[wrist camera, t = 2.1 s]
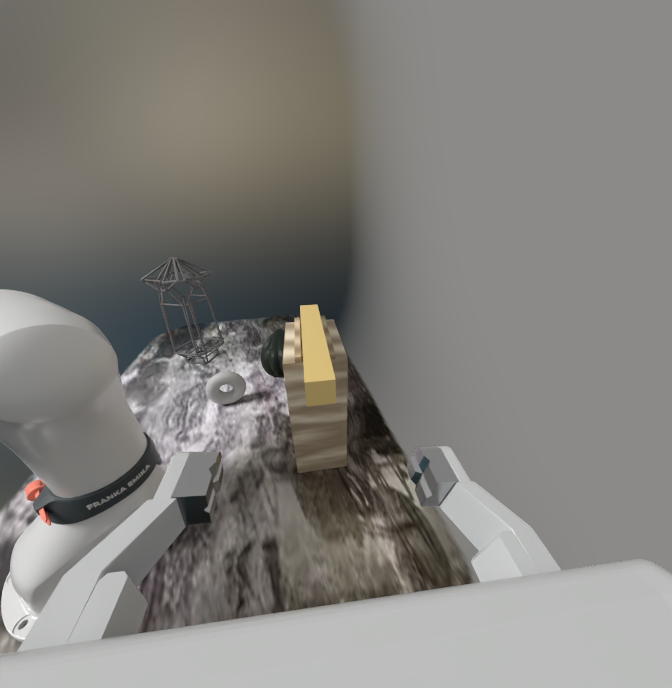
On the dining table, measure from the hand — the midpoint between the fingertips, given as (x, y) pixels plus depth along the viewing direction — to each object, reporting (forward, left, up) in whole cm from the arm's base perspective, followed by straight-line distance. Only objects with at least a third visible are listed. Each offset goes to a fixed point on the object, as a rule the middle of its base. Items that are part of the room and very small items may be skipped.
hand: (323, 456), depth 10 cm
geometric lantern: (+28, +82, -37) cm, 94 cm away
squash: (+39, +50, -37) cm, 74 cm away
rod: (+21, +20, -11) cm, 31 cm away
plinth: (+24, +23, -37) cm, 50 cm away
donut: (+19, +51, -37) cm, 66 cm away
